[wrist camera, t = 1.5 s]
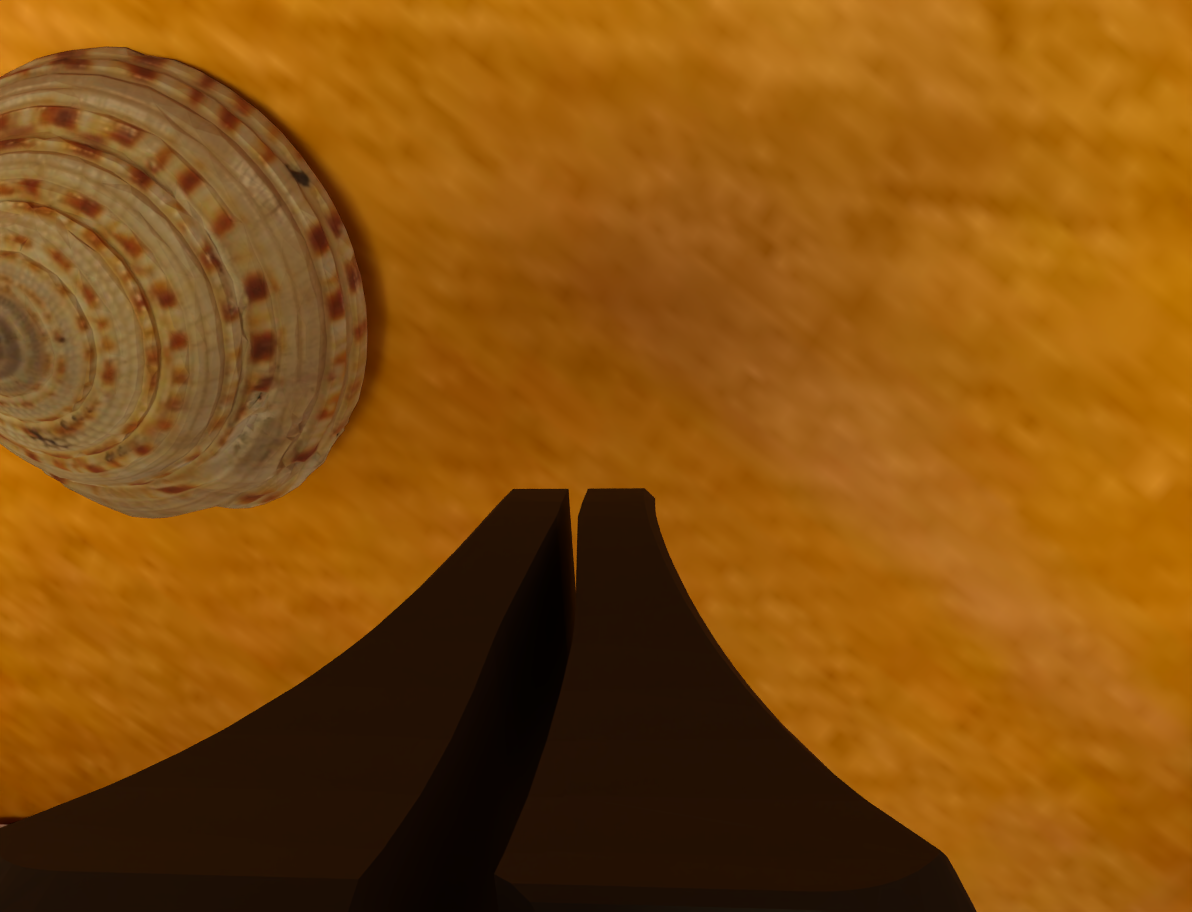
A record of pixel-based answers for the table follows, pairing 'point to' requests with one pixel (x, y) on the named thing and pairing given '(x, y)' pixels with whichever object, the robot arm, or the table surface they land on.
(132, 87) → the seashell
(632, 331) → the table surface
